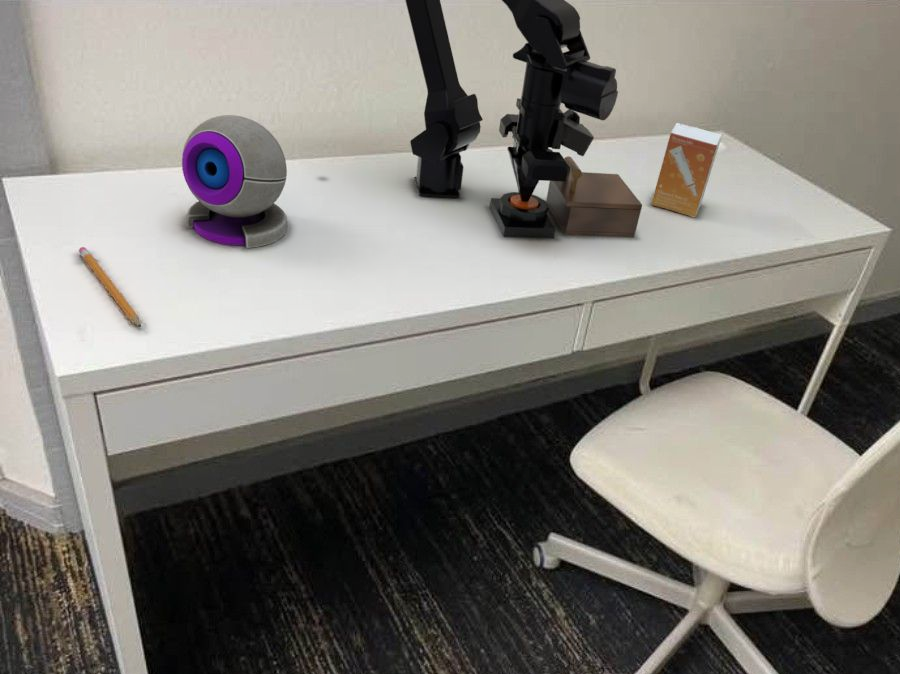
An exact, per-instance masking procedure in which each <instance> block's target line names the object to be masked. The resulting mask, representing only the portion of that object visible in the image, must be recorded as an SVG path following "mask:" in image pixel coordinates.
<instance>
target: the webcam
mask: <svg viewBox="0 0 900 674" xmlns="http://www.w3.org/2000/svg"><path fill="white" fill-rule="evenodd" d="M181 155H182V158H181V169H182V170H181V171H182V174H183V178H184V182H185V183H186V185H187V187H188V189H189V191H190V192H191V194H192V196H194V198H195V199H196V200H197V201H196V202H195V203H194V204H193V205H191V206H190V207H189V208H188V209H187V213H186V228H187V229H194V231H195V232H196V233H197V234H198V235H199V236H201V237H203V238H204V239H206V240H208V241H211V242H214V243H216V244H217V243H218V244H222V245H227V246H245V248H246V249H250V248H258V247H263V246H267V245H270V244H273V243H276V242H277V241H279V240H281V239H282V238H283V237H284V236H285V235H286V234H287V231H288V217H287V214H286V213H285V211H284V210H283V208H281V207H280V206H279V205H277V204H276V203H275V202H277V200H278V199H279V197H280V196H281V195H282V192H283V190H284V188H285V185H286V181H287V176H288V175H287V174H288V170H287V169H288V168H287V161H286V160H287V159H286V157H285V154H284V150H283V149H282V146H281V144H280V143H279V141H278V140H277V138H276V137H275V136H274V135H273V133H271V132H270V130H268V129H267V128H266V127H265V126H263V125H262V124H260V123H259V122H257V121H255V120H254V119H251V118H247V117H245V116H241V115H235V114H223V115H218V116H217V115H216V116H214V117H210V118H208V119H206V120H204V121H203V122H202V123H199V125H198V126H196V127H195V128H194V129H193V130H192V131H191V132H190V134H189V135H188V137H187V139H186V141H185V143H184V146H183V150H182V154H181Z"/></svg>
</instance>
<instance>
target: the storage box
mask: <svg viewBox="0 0 900 674" xmlns="http://www.w3.org/2000/svg"><path fill="white" fill-rule="evenodd" d="M545 201H546V203H547V204H548V206H549V207H548V210H549V211H550V212H551V214H552V216H553V217H554V219H555V220H556V222H557V224H558V226H559V228H560V229H561V231H562V232H563V234H564V236H574V237H575V236H577V237H579V236H580V237H607V238H633V239H634V238H635V235H636V231H637V228H638V223H639V219H640V217H641V211H642V209H641V210H640V209H617V208H594V207H572V206H566V205H565V204H564V202H563V200H562V199H561V197H560V196H559V194H558V193H557V191H556V189H555V188H554V186H553V185H552V183H551V182H550V181H549V183H548V189H547V194H546V200H545Z"/></svg>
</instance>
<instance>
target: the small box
mask: <svg viewBox="0 0 900 674" xmlns="http://www.w3.org/2000/svg"><path fill="white" fill-rule="evenodd" d="M722 137H723V134H722V133H716V132H714V131H713V132H712V131H709V130H706V129H703V128H699V127H695V126H690V125H686V124H683V123H679V122H676V123H675V125H674V126H673V129H672V130H671V132H670V134H669V138H668V141H667V144H666V148H665V152H664V156H663V160H662V163H661V167H660V171H659V173H658V178H657V182H656V185H655V189H654V193H653V197H652V201H651V206H654V207H657V208H658V207H659V208H663V209H665V210H668V211H672V212H676V213H679V214H682V215H686V216H688V217H692V218H696V217H697V214H698V212H699V210H700V207H701V205H702V203H703V199H704V196H705V193H706V189H707V186H708V183H709V181H710V180H709V179H710V176H711V173H712V169H713V166H714V163H715V160H716V156H717V154H718V150H719V148H720V143H721V140H722Z"/></svg>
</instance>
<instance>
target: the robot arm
mask: <svg viewBox="0 0 900 674" xmlns="http://www.w3.org/2000/svg"><path fill="white" fill-rule="evenodd" d="M404 1H405V5H406V9H407V13H408V17H409V21H410V25H411V29H412V33H413V37H414V41H415V45H416V49H417V54H418V58H419V61H420V65H421V70H422V73H423V78H424V82H425V85H426V91H427V95H426V99H425V100H426V101H425V105H424V111H423V117H424V118H423V119H424V124H425V129H424V130H423V131H422V132H420V133H419V134H417V135H416V136H414V137H413V138H412V139H411V140H410V141H409V142H410V148H411V152H412V155H414V156H416V157H417V166H416V176H414V177H413V182H414V184H415V188H416V190H417V193H418V195H419V197H424V198H425V197H428V198H449V199H459V198H460V195H461V194H460V192H459V191H461V190H462V185H463V184H462V183H463V176H464V175H463V174H464V164H463V162H462V156H461V154H460V153H462V152H466V151H467V150H468V148H469V146H470V144H471V143H473V142H475V141H476V140H477V139H478V136H479V134H480V133H481V122H483V120H484V118H483V117H482V115H481V113H480V110H479V103H478V97H477V95H476V93H472V94H467V92H466V91H465V90H464V88H463V87H462V86H461V84H460V81H459V77H458V72H457V67H456V63H455V60H454V54H453V51H452V46H451V43H450V38H449V34H448V30H447V25H446V20H445V16H444V12H443V7H442V4H441V0H404ZM501 1H502V3H503V4H504V5H506V7H507V8H508V10H509V11H510V12H511V14H512V17H513V20H514V23H515V27H516V28H517V29H518V31H519V32H520V33H521V36H523V38H524V39H525V40H526V43H525V44H524V45H523V46H522V47H521V48H520V49H519V50H518V51H515V52H514V53H512V58H513V60H517V61H519V62H523V63H525V70H524V77H523V84H522V89H521V96H520V98H516V102H515V106H516V108H517V110H518V114H515V113H506V114H505V115H504V116H503V117H501V118H500V121H499V128H498V132H499V133H500V135H501V137H502V138H507V137H508V135H509V133H512V134H511V135H512V136H511V137H512V140H513V144H512V146H507V153H508V155H509V158H510V164H511V167H512V172H513V174H514V179H515V182H516V187H517V192H519V195H520V199H521V200H522V201H523V202H528V201H529V199H530V197H531V195H533V193H534V192H535V189H536V187H537V186H538V184H539V182H540V181H542V182H543V181H546V182H547V181H548V182H550V181H561V182H566V181H568V179H569V174H570V169H571V168H570V166H569V165H568V164H567V162H566V161H565V159H564V158H565V157H564V156H563V155H562V154H561V153H560V151H553V150H561V146H562V147H565V148H567V149H569V150H571V151H573V152H575V153H576V154H577V156H580V157H584V156H585V154H586V153H587V151H588V149H589V148H590V146H591V144H592V142H593V140H594V139H595V137H594V135H593V134H592V132H591V131H590V130H589V129H588V128H587V127H586V126H585V125H584V124H583V123H580V121H581V116H580V115H579V114H581V115H585V116H588V117H590V118H594V119H596V120H599V121H606V120H607V119H608V118H609V117H610V115H611V113H612V112H613V110H614V107H615V105H616V102H617V99H618V95H619V90H618V81H617V79H616V75H617V74H616V73H617V70H616V68H614V67H611V66H608V65H600V64H598V63H595V62H592V61H590V60H591V55H590V52H589V50H588V47H587V45H586V42H585V39H584V37H583V33H582V31H581V16H580V14H579V12H578V11H577V8H575V7H574V6H573V5H572V4H571V3H569V2H568V1H567V0H501ZM563 48H567V51H564V52H563V50H562V49H563ZM562 104H563V105H564V107H565V108H566V109H567V110H566V111H565V112H563V110H562V109H561V105H562Z"/></svg>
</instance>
